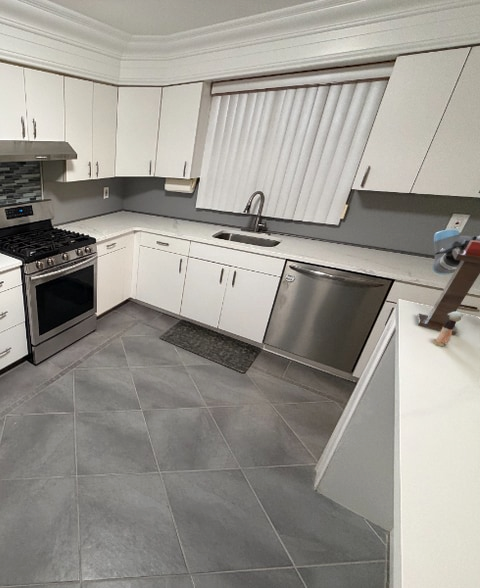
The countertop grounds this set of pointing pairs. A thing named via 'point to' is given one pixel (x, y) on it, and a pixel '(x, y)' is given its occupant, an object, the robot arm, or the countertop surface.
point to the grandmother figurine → (448, 328)
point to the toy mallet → (473, 248)
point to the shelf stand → (453, 291)
